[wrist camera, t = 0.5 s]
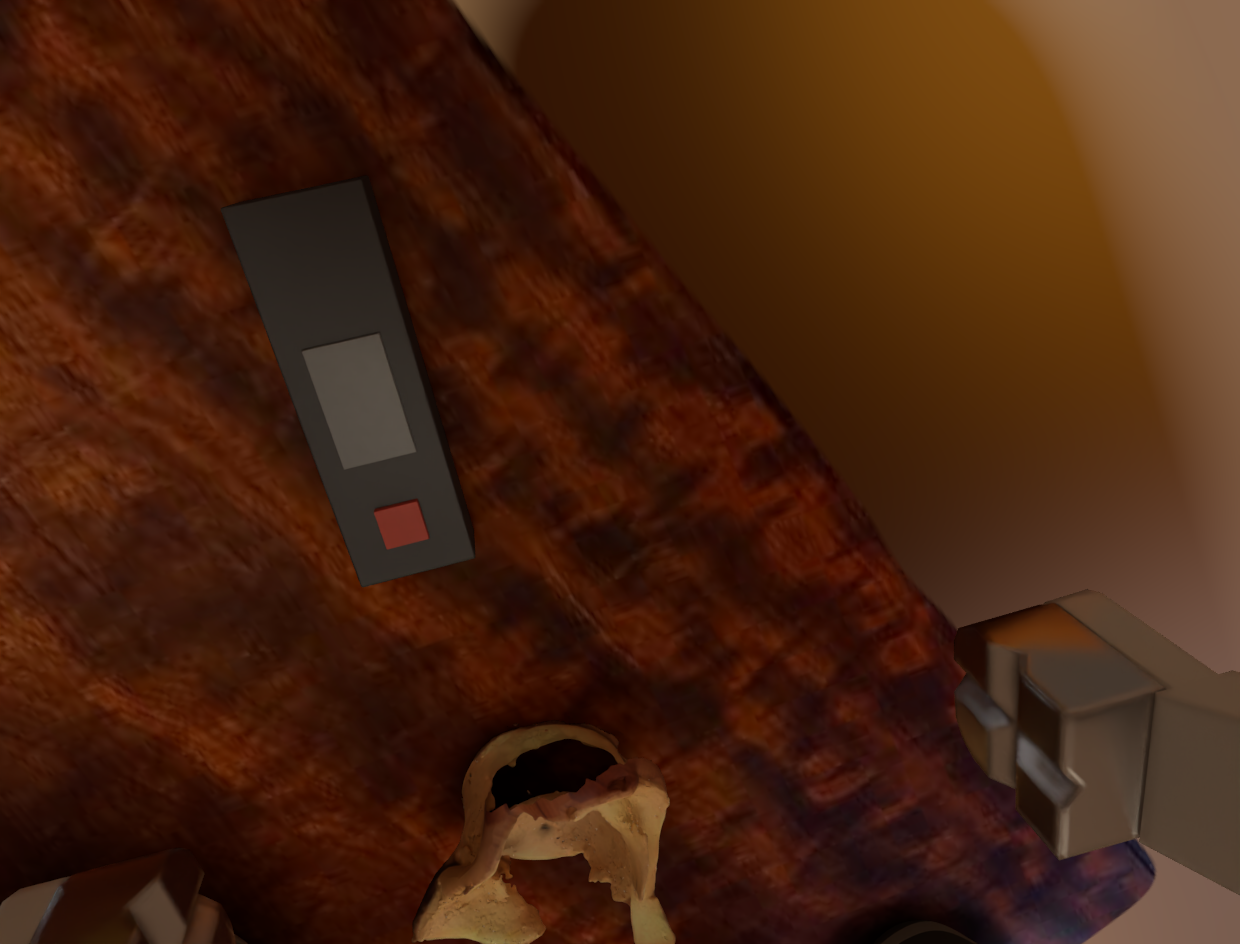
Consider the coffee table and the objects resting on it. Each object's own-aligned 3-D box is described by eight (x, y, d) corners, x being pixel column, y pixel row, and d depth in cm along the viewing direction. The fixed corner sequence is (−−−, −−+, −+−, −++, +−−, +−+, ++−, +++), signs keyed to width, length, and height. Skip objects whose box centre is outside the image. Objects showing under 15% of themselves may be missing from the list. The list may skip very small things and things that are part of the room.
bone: (594, 651, 37) (631, 783, 29) (700, 779, 41) (757, 925, 33) (377, 793, 38) (358, 959, 30) (502, 906, 42) (513, 1078, 34)
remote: (237, 202, 28) (217, 208, 25) (368, 174, 28) (360, 178, 26) (367, 558, 33) (360, 591, 31) (474, 531, 34) (476, 561, 31)
